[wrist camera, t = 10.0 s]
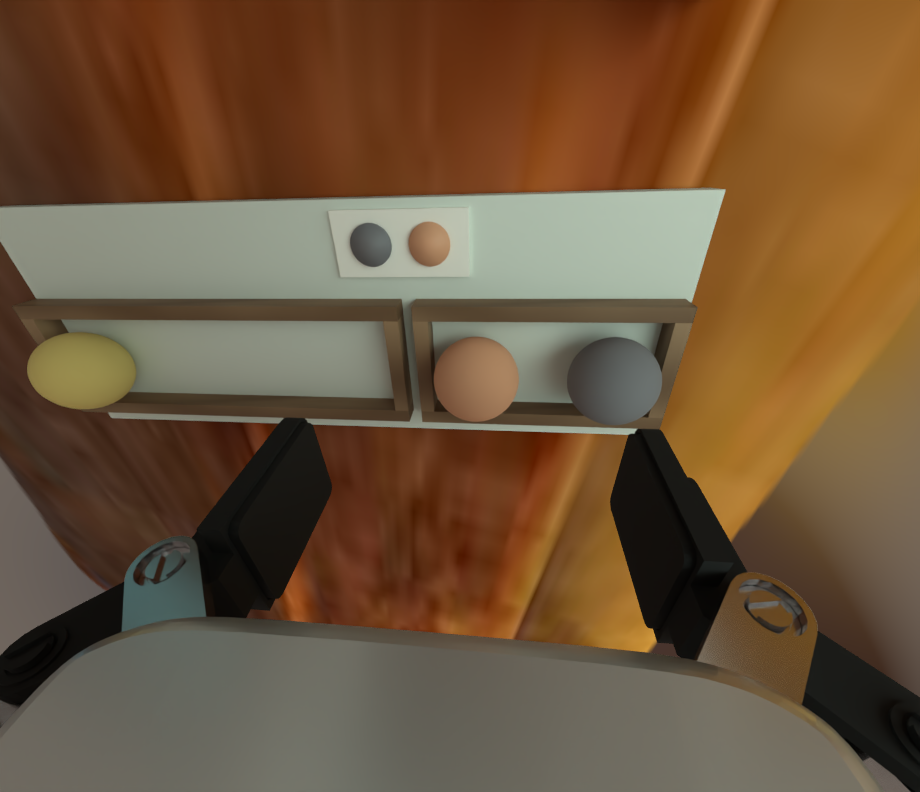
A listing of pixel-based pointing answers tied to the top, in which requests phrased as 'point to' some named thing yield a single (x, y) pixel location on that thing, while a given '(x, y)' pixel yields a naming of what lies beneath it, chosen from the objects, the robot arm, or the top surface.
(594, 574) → the top surface
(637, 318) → the wooden rectangular frame
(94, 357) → the ochre ball
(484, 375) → the terracotta ball
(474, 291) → the board
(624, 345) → the charcoal ball
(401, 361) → the wooden picture frame
